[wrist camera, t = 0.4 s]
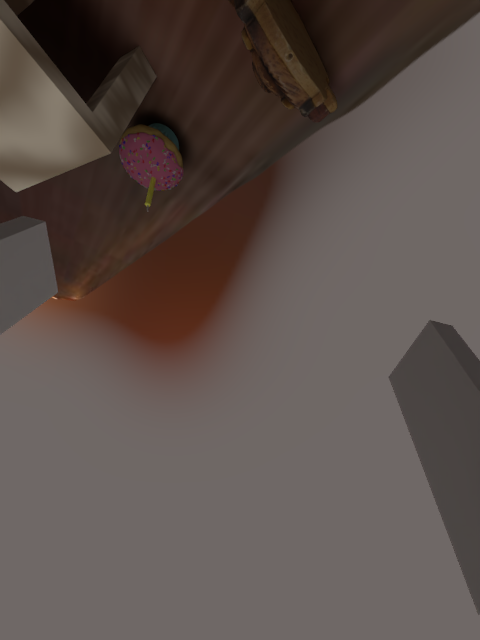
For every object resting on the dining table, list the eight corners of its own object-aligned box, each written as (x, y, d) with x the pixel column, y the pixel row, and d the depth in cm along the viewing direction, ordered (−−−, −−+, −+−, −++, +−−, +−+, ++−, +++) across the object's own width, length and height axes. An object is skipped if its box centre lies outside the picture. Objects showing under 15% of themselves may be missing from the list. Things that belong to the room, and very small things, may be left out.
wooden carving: (201, -50, 25) (165, -2, 21) (234, -121, 22) (200, -80, 18) (317, 104, 34) (309, 160, 30) (354, 70, 30) (351, 128, 26)
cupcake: (202, 142, 41) (178, 204, 36) (174, 178, 47) (150, 235, 42) (145, 91, 36) (108, 154, 31) (122, 139, 43) (88, 197, 37)
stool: (-85, -47, 29) (-204, 16, 23) (7, -187, 21) (-137, -147, 15) (66, 124, 42) (16, 192, 36) (156, 76, 34) (111, 153, 28)
